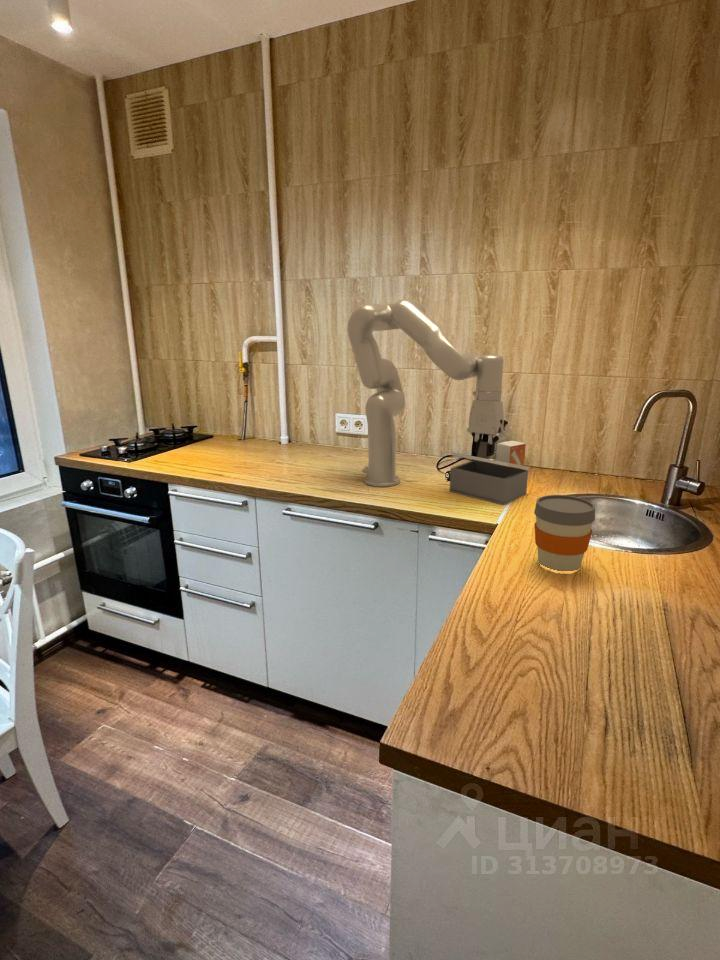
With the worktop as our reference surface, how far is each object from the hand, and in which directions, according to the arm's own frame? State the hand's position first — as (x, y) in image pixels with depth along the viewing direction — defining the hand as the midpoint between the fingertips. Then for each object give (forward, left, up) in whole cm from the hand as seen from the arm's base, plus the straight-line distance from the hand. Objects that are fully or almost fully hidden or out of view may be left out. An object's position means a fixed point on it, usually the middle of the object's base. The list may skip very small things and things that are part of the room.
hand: (484, 454), depth 162 cm
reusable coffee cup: (+40, -32, -14) cm, 53 cm away
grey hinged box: (0, +3, -14) cm, 14 cm away
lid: (0, +3, -3) cm, 5 cm away
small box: (-3, +22, -14) cm, 26 cm away
